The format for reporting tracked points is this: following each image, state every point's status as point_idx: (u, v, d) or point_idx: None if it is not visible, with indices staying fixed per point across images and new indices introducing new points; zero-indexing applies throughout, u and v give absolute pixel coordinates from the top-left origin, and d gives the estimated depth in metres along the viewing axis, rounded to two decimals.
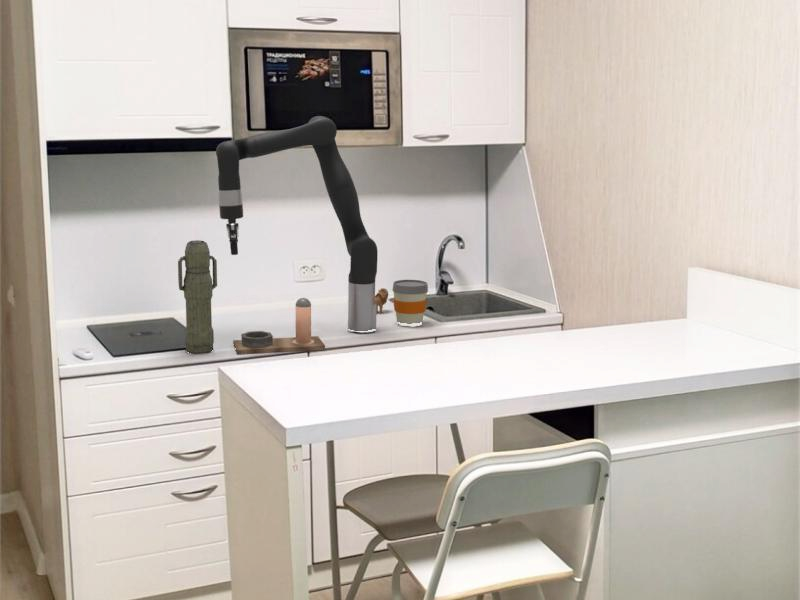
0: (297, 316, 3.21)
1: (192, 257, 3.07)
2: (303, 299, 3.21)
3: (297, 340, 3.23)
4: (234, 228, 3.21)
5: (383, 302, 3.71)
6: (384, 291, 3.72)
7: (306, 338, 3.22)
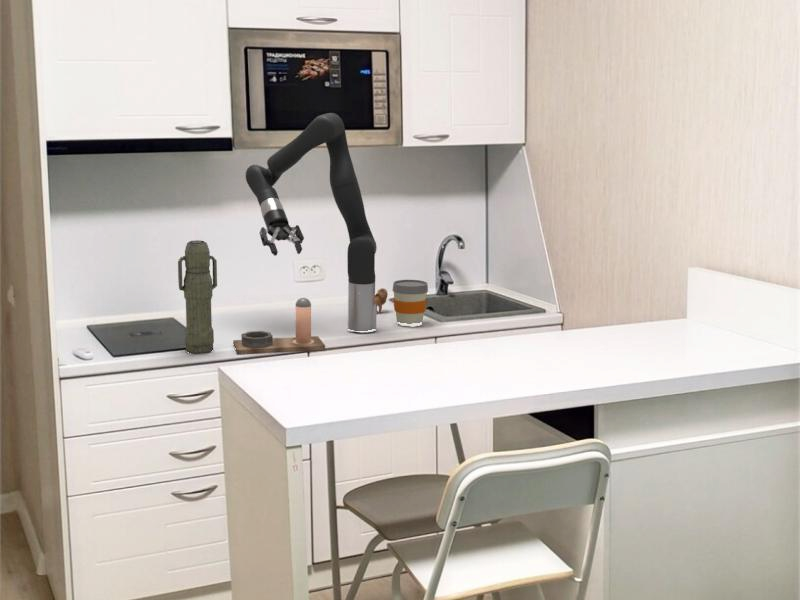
0: (297, 316, 3.21)
1: (192, 257, 3.07)
2: (303, 299, 3.21)
3: (297, 340, 3.23)
4: (261, 232, 3.32)
5: (382, 302, 3.71)
6: (383, 291, 3.72)
7: (306, 338, 3.22)
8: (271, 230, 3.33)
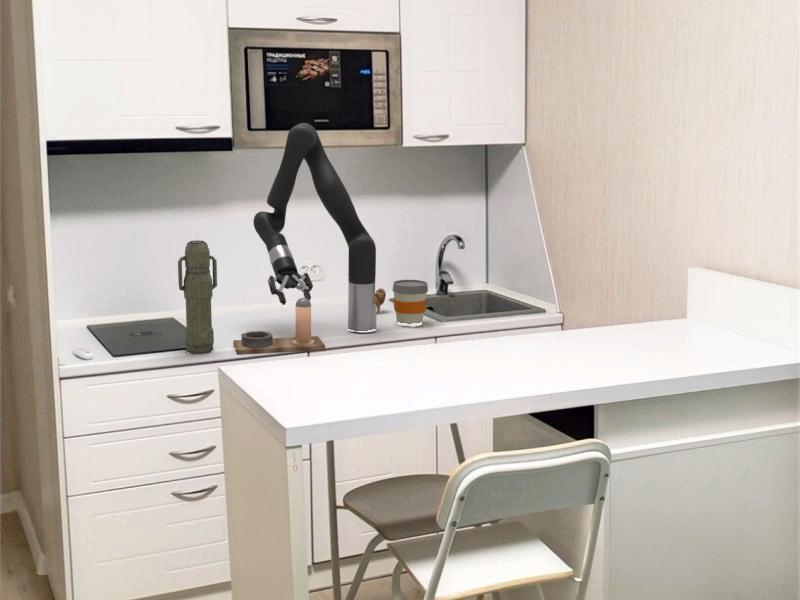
0: (297, 316, 3.21)
1: (192, 257, 3.07)
2: (303, 299, 3.21)
3: (297, 340, 3.23)
4: (269, 280, 3.27)
5: (381, 302, 3.71)
6: (382, 291, 3.71)
7: (306, 338, 3.22)
8: (280, 278, 3.28)
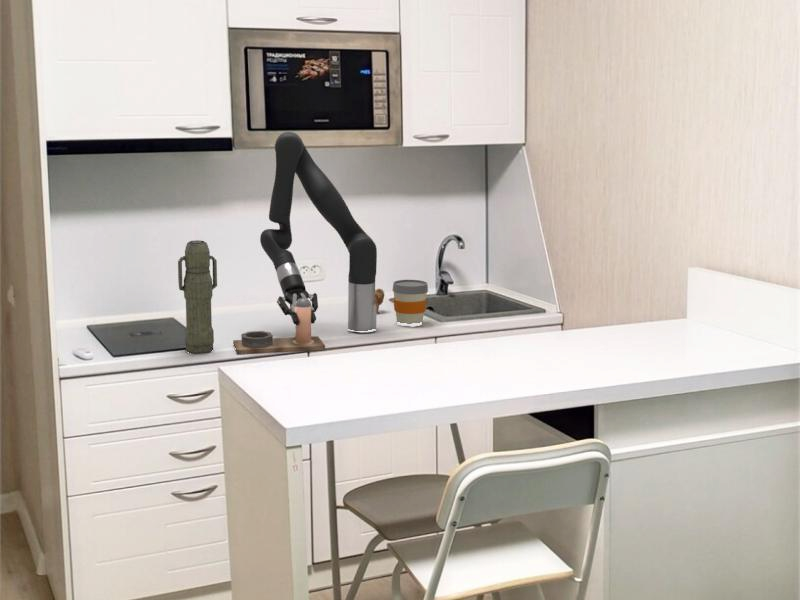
0: None
1: (192, 257, 3.07)
2: (303, 299, 3.21)
3: (297, 340, 3.23)
4: (279, 301, 3.22)
5: (379, 302, 3.71)
6: (380, 291, 3.71)
7: (306, 338, 3.22)
8: (288, 297, 3.24)
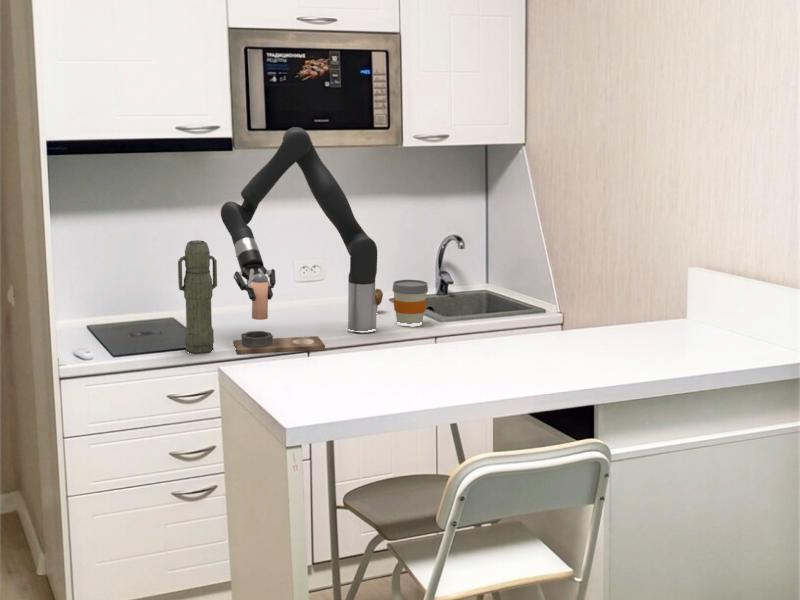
0: None
1: (192, 257, 3.07)
2: (260, 274, 3.16)
3: (253, 316, 3.18)
4: (236, 277, 3.17)
5: (378, 303, 3.70)
6: (379, 291, 3.71)
7: (262, 315, 3.17)
8: (245, 272, 3.19)
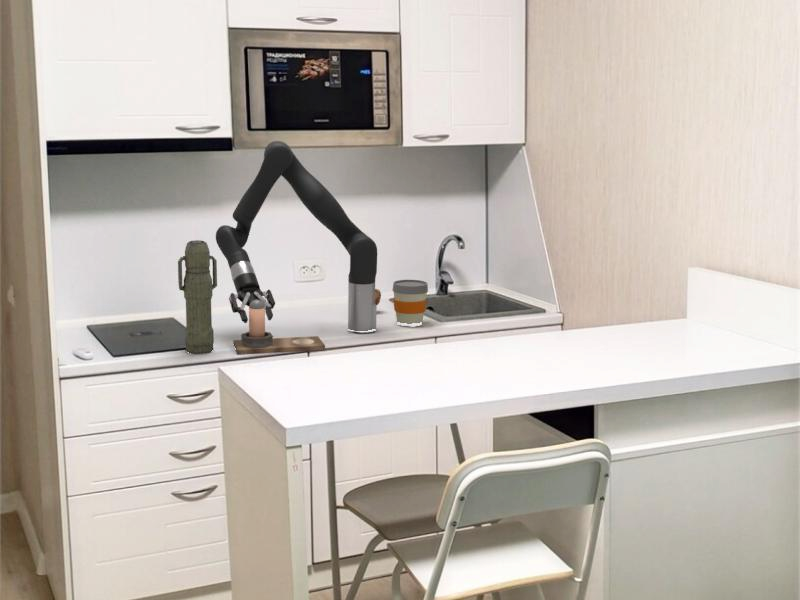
0: (250, 318, 3.17)
1: (192, 257, 3.07)
2: (256, 301, 3.17)
3: None
4: (231, 298, 3.18)
5: (376, 303, 3.70)
6: (377, 292, 3.70)
7: None
8: (241, 296, 3.20)
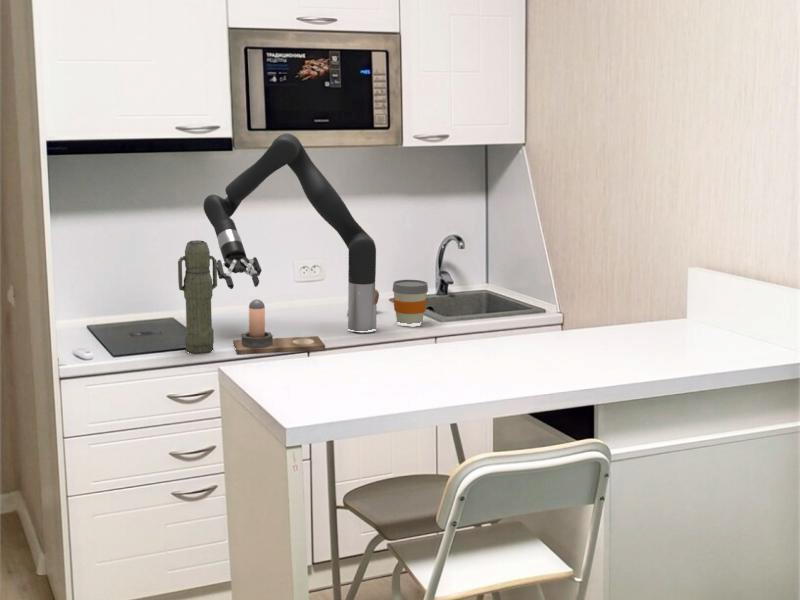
0: (250, 318, 3.18)
1: (192, 257, 3.07)
2: (256, 301, 3.17)
3: None
4: (217, 265, 3.26)
5: None
6: (375, 292, 3.70)
7: None
8: (227, 263, 3.27)
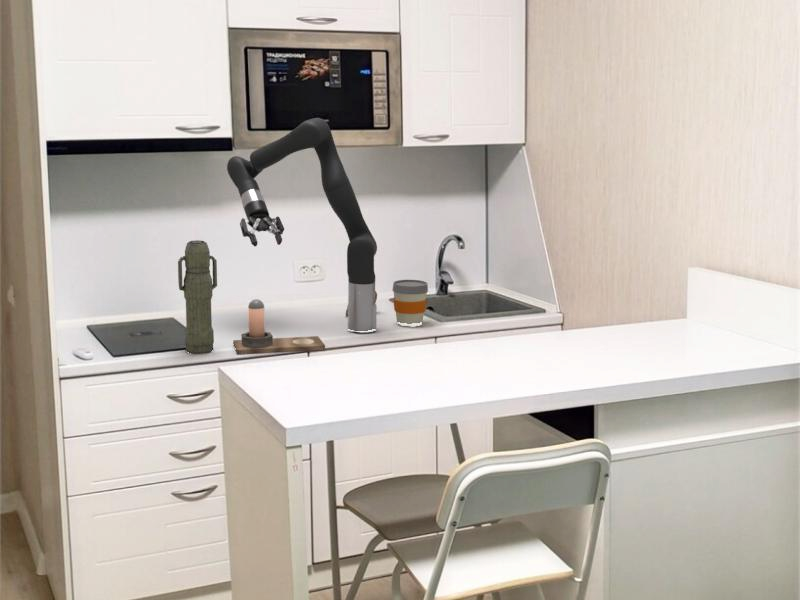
0: (250, 318, 3.18)
1: (192, 257, 3.07)
2: (256, 301, 3.17)
3: None
4: (241, 223, 3.34)
5: None
6: None
7: None
8: (251, 221, 3.35)
